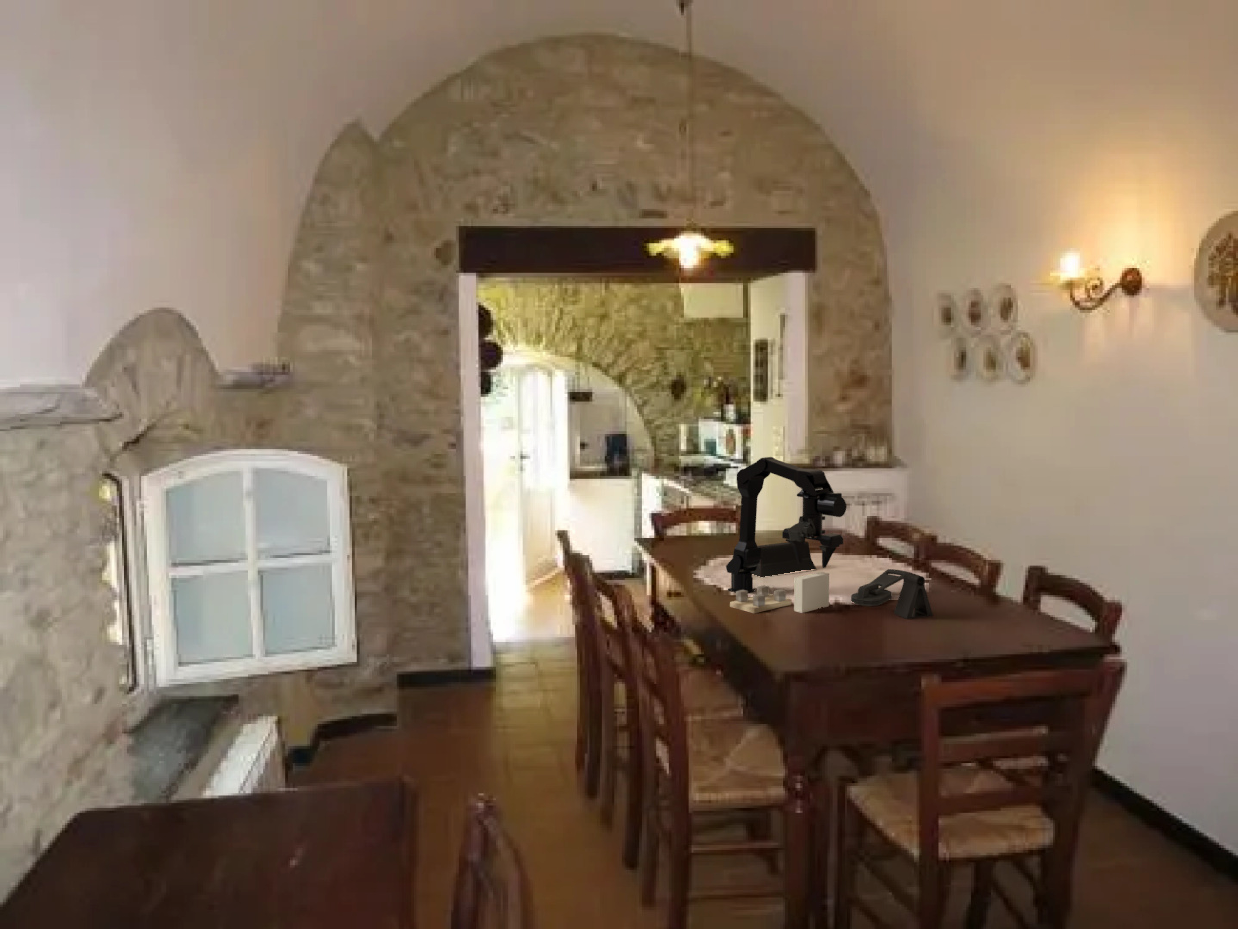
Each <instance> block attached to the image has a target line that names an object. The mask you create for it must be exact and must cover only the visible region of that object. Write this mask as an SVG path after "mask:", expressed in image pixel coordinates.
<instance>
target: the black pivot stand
mask: <svg viewBox="0 0 1238 929" xmlns="http://www.w3.org/2000/svg"><path fill="white" fill-rule="evenodd" d="M907 572H909V573H907ZM907 572H906V573H905V574H904V576H903V579H902V580H903V583H902V586H901V590H900V593H899V595H898V599H897V602H896V605H895V608H894V611H893V614H894V615H895V616H899V617H900V618H902V619H905V620H912V619H920V618H930V617H933V616H934V614H933V610H932V606H931V604H930V600H929V597H928V593H927V591H926V586H925V582H926V578H925V577H924V576H922V575H920V574H916V573H912V572H910V571H907Z"/></svg>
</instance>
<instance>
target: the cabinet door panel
mask: <svg viewBox="0 0 1238 929" xmlns="http://www.w3.org/2000/svg"><path fill="white" fill-rule="evenodd" d="M793 580H794V583H793V586H794V587H793V589H794V590H793V591H794V592H793V611H794V612H797V613H800V614H801V613H802V614H803V613H807V612H811V611H814V610H818V608H819V609H822V608H821V607H823V608H827V607H829V606H830V573H828V572H825V571H819V572H814V573H810V574H805V575H800V576H796V577H795V576H794V579H793Z"/></svg>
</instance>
